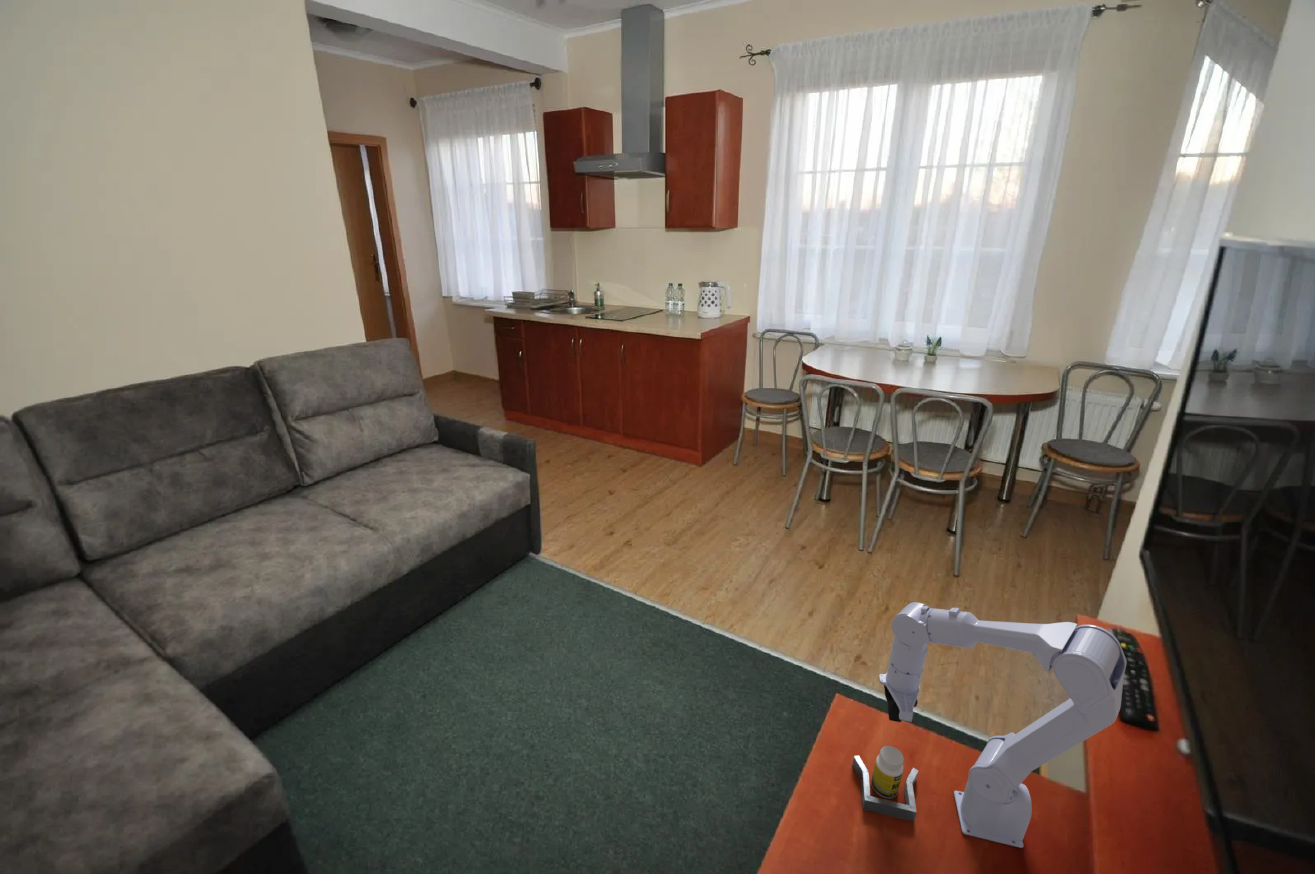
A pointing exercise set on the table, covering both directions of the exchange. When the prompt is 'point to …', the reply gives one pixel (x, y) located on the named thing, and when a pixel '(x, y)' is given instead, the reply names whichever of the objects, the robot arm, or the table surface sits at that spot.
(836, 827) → the table surface
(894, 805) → the u holder
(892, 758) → the supplement bottle
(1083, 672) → the robot arm
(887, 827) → the table surface
